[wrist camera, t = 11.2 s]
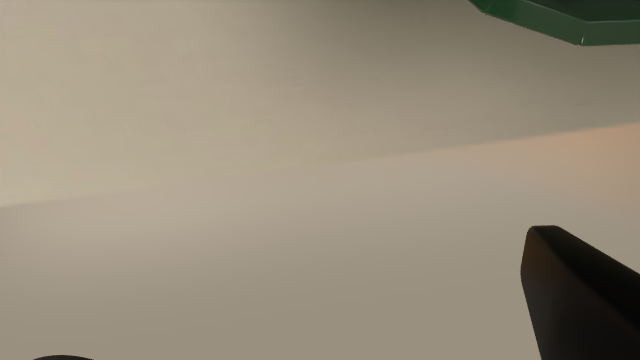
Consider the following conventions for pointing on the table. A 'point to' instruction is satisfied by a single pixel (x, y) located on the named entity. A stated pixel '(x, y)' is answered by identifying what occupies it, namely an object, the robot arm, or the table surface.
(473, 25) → the table surface
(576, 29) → the bowl
